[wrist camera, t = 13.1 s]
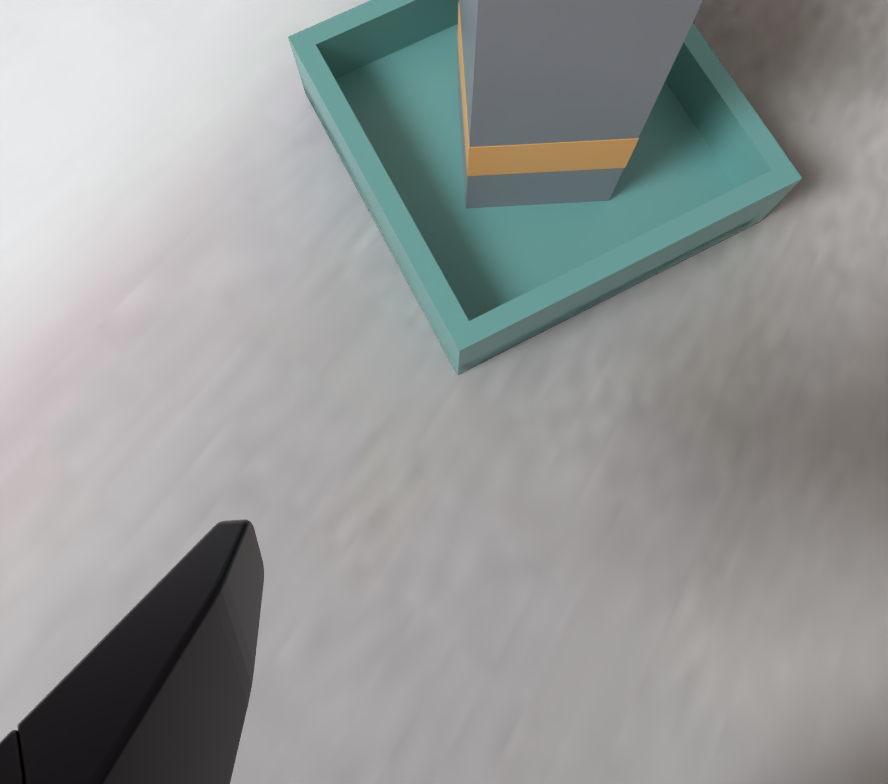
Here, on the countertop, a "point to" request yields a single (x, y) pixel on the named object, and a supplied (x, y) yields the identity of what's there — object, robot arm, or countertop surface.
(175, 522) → the countertop surface
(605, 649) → the countertop surface
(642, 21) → the gray rectangular block
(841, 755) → the countertop surface
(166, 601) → the robot arm
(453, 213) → the tray
